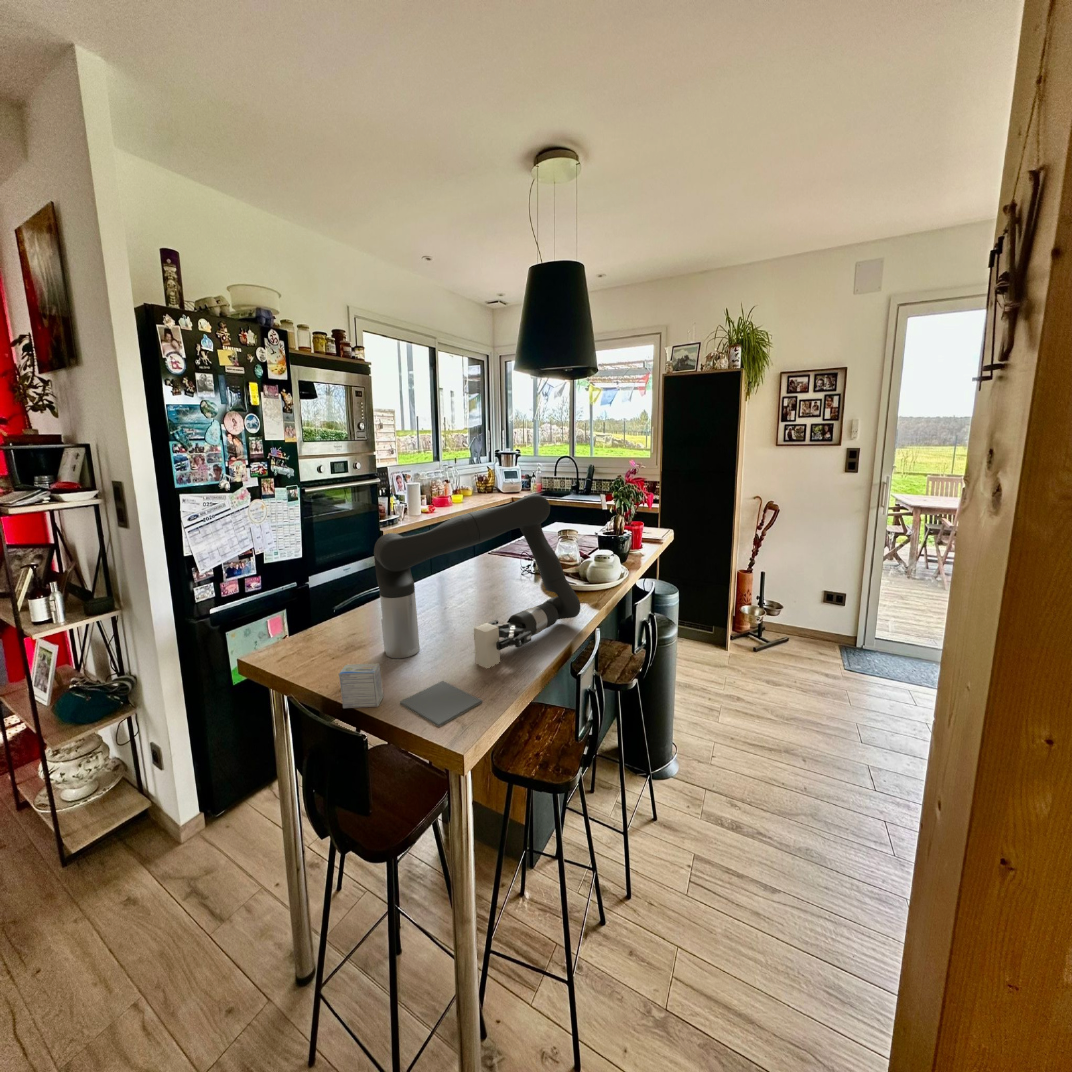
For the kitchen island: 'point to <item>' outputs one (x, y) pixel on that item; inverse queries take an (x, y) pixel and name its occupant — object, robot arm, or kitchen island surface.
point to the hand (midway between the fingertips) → (485, 642)
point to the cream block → (486, 645)
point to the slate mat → (441, 703)
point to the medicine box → (361, 685)
